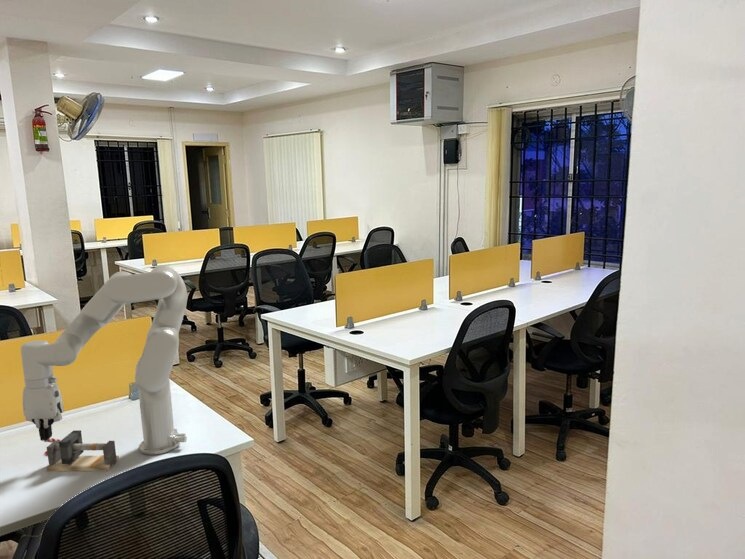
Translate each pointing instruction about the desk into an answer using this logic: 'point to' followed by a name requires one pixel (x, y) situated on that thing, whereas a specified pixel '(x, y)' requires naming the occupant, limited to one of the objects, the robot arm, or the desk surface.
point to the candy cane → (51, 441)
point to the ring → (65, 447)
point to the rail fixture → (83, 457)
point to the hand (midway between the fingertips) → (46, 438)
